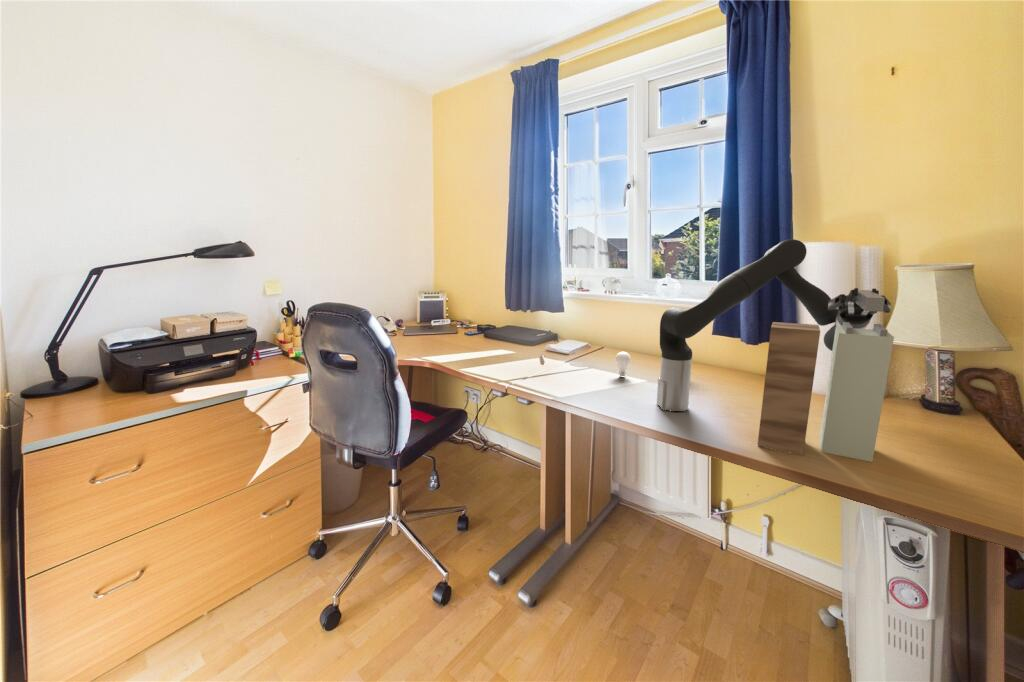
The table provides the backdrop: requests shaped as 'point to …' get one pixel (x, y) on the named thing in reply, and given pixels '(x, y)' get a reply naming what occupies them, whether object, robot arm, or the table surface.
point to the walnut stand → (788, 386)
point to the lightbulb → (622, 362)
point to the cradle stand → (855, 391)
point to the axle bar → (869, 301)
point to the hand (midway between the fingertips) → (865, 291)
